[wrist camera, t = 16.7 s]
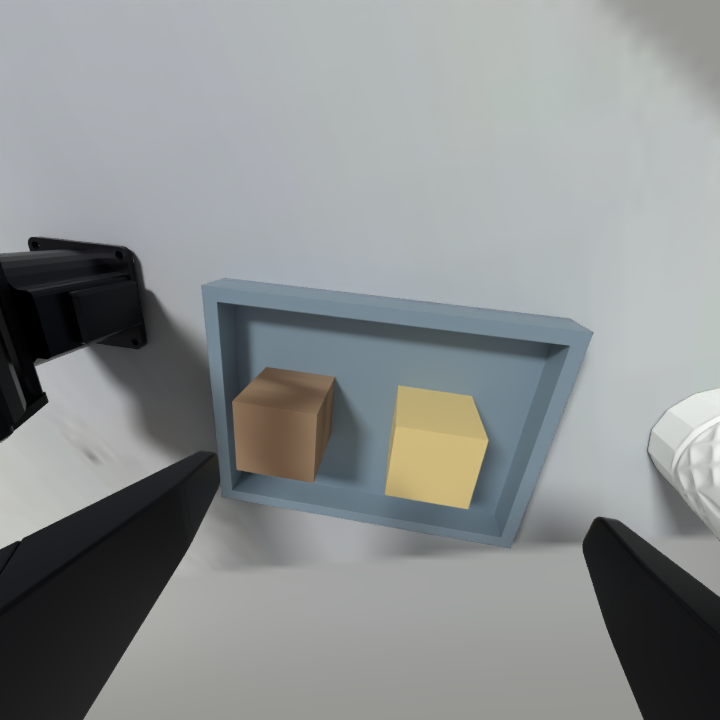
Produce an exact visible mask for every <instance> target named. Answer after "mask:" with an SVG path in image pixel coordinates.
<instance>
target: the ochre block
mask: <svg viewBox="0 0 720 720" xmlns="http://www.w3.org/2000/svg"><path fill="white" fill-rule="evenodd" d="M488 441H489V440H488V438H487V435H486V432H485V430H484V427H483V424H482V421H481V419H480V416H479V413H478V411H477V408H476V405H475V403H474V400H473V397H472V396H468V395H461V394H454V393H447V392H440V391H433V390H426V389H419V388H412V387H405V386H399V385H398V390H397V397H396V403H395V409H394V416H393V422H392V429H391V435H390V441H389V450H388V462H387V474H386V486H385V495H388V496H394V497H400V498H405V499H411V500H417V501H423V502H429V503H434V504H440V505H446V506H452V507H458V508H463V509H468V508H469V504H470V501H471V498H472V494H473V491H474V488H475V484H476V481H477V478H478V474H479V471H480V468H481V464H482V461H483V458H484V454H485V451H486V448H487V444H488Z"/></svg>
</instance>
